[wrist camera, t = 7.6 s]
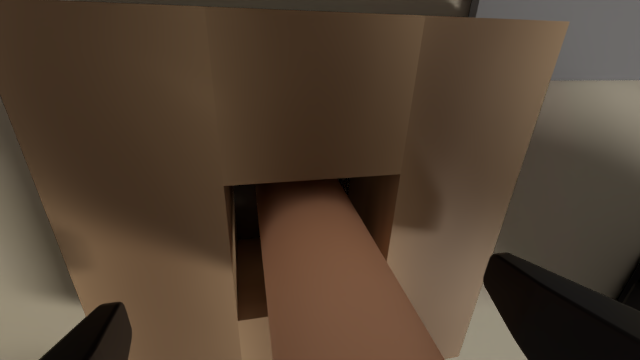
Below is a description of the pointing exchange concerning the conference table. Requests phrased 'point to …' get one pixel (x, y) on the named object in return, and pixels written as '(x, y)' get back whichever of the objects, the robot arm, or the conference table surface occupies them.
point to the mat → (582, 34)
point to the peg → (331, 280)
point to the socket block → (266, 149)
